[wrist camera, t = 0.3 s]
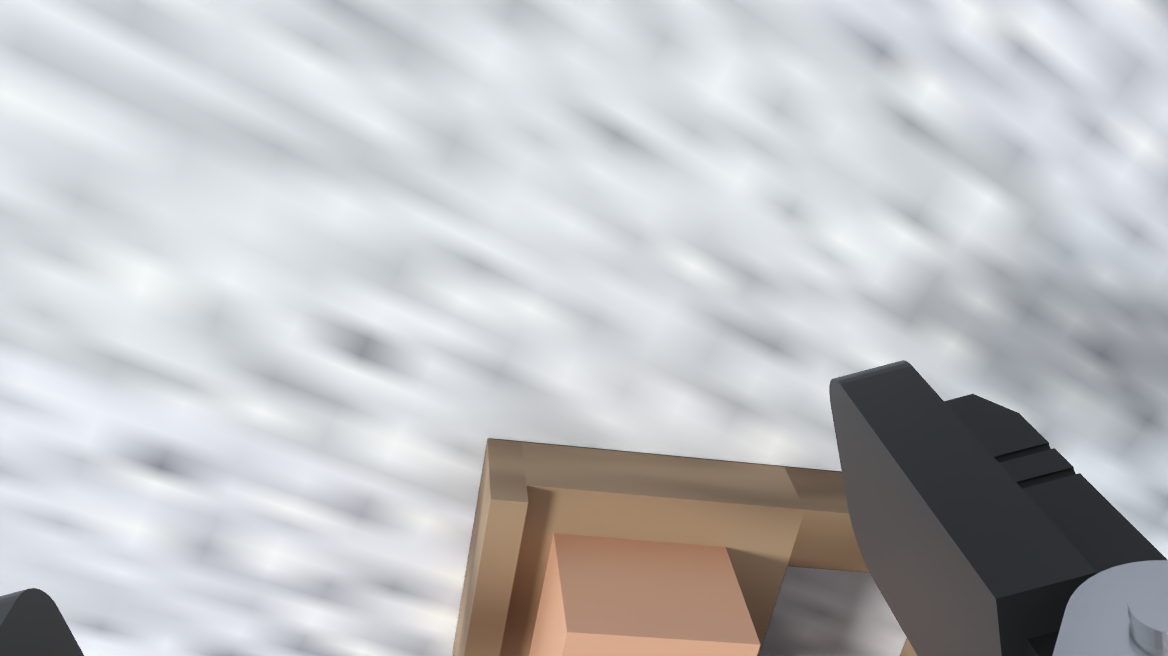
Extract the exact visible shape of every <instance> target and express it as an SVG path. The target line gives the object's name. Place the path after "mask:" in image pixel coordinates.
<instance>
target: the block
mask: <svg viewBox="0 0 1168 656" xmlns="http://www.w3.org/2000/svg"><path fill="white" fill-rule="evenodd" d="M759 648H760V642H759V639H758V636H757V633H756V631H755V628H754V625H753V622H752V620H751V617H750V614H749V611H748V608H747V606H746V603H745V600H744V597H743V594H742V592H741V589H740V586H739V583H738V580H737V578H736V575H735V572H734V569H733V567H732V564H731V561H730V558H729V555H728V553H727V550H726V547H720V546H708V545H695V544H683V543H670V542H658V541H646V540H633V539H621V538H608V537H596V536H583V535H571V534H559V533H554V534H553V539H552V544H551V549H550V554H549V559H548V564H547V569H546V574H545V579H544V584H543V589H542V593H541V598H540V603H539V608H538V613H537V618H536V623H535V628H534V633H533V638H532V643H531V648H530V653H529V656H757V654H758V651H759Z"/></svg>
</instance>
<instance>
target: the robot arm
mask: <svg viewBox="0 0 1168 656" xmlns="http://www.w3.org/2000/svg"><path fill="white" fill-rule="evenodd" d="M830 402H831V409H832V415H833V421H834V427H835V433H836V439H837V445H838V451H839V457H840V463H841V469H842V475H843V481H844V487H845V493H846V499H847V505H848V510H849V515H850V520H851V524H852V527H853V531H854V534H855V538H856V541H857V544H858V547H859V549H860V552H861V555H862V557H863V559H864V562H865V564H866V566H867V568H868V570H869V572H870V574H871V576H872V577H873V579H874V581H875V583H876V584H877V586H878V588H879V590H880V591H881V593H882V595H883V597H884V598H885V600H886V602H887V604H888V605H889V607H890V609H891V611H892V612H893V614H894V616H895V617H896V619H897V621H898V623H899V624H900V626H901V628H902V630H903V631H904V633H905V635H906V637H907V638H908V640H909V642H910V644H911V645H912V647H913V649H914V651H915V652H916V654H917V656H1168V560H1167V559H1166V558H1165V557H1164V556H1163V555H1162V554H1161V553H1160V552H1159V551H1158V550H1157V549H1156V548H1155V547H1154V546H1153V545H1152V544H1151V543H1150V542H1149V541H1148V540H1147V539H1146V538H1145V537H1144V536H1143V535H1142V534H1141V533H1140V532H1139V531H1138V530H1137V529H1136V528H1135V527H1134V526H1133V525H1132V524H1131V523H1130V522H1129V521H1128V520H1126V519H1125V518H1124V517H1123V516H1122V515H1121V514H1120V513H1119V512H1118V511H1117V510H1116V509H1115V508H1114V507H1113V506H1112V505H1111V504H1110V503H1109V502H1108V501H1107V500H1106V499H1105V498H1104V497H1103V496H1102V495H1101V494H1100V493H1099V492H1098V491H1097V490H1096V489H1095V488H1094V487H1093V486H1092V485H1091V484H1090V483H1089V482H1088V481H1087V480H1086V479H1085V478H1084V477H1083V476H1082V475H1081V474H1080V473H1079V474H1075V472H1074V468H1073V466H1072V465H1071V464H1070V463H1069V462H1068V461H1067V460H1066V459H1065V458H1064V457H1063V456H1062V455H1061V454H1060V453H1059V452H1058V451H1057V450H1056V449H1055V448H1054V449H1050V447H1049V442H1047V441H1046V440H1045V439H1044V438H1043V437H1042V436H1041V435H1040V434H1039V433H1038V432H1037V431H1036V430H1035V429H1034V428H1033V427H1032V426H1031V425H1030V424H1029V423H1028V422H1027V421H1026V420H1025V419H1024V418H1023V417H1022V416H1021V415H1020V414H1019V413H1017V412H1015V411H1012V410H1010V409H1008V408H1005V407H1003V406H1000V405H998V404H996V403H993V402H991V401H988V400H986V399H984V398H981V397H979V396H977V395H974V394H971V395H967V396H963V397H959V398H955V399H952V400H948V401H943V400H942V399H941V398H940V397H939V395H938V394H937V393H936V392H935V391H934V390H933V389H932V388H931V387H930V385H929V384H928V383H927V382H926V381H925V380H924V379H923V378H922V376H921V375H920V374H919V373H918V372H917V371H916V370H915V369H914V368H913V366H912V365H911V364H910V363H908V362H907V361H899V362H895V363H891V364H887V365H884V366H880V367H876V368H872V369H868V370H865V371H861V372H857V373H853V374H850V375H846V376H842V377H838V378H834V379H832V380H831V382H830ZM0 656H84V655H83V653H82V651H81V649H80V647H79V646H78V644H77V642H76V640H75V638H74V636H73V635H72V633H71V631H70V629H69V627H68V625H67V624H66V622H65V620H64V618H63V616H62V614H61V613H60V611H59V609H58V607H57V606H56V604H55V603H54V601H53V600H52V599H51V598H50V596H49V595H47V594H46V593H45V592H43V591H41V590H40V589H35V588H32V589H27V590H23V591H19V592H15V593H11V594H8V595H4V596H0Z"/></svg>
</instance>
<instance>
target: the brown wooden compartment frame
mask: <svg viewBox="0 0 1168 656" xmlns="http://www.w3.org/2000/svg"><path fill="white" fill-rule="evenodd" d="M554 533H559V534H571V535H583V536H596V537H608V538H621V539H633V540H646V541H658V542H670V543H683V544H695V545H708V546H720V547H726V550H727V553H728V555H729V558H730V561H731V564H732V567H733V569H734V572H735V575H736V578H737V580H738V583H739V586H740V589H741V592H742V594H743V597H744V600H745V603H746V606H747V608H748V611H749V614H750V617H751V620H752V622H753V625H754V628H755V631H756V633H757V636H758V639H759V642H760V648H759V651H758V654H757V656H759V653H760V650H761V647H762V644H763V641H764V638H765V634H766V631H767V628H768V625H769V622H770V619H771V616H772V612H773V609H774V606H775V603H776V600H777V597H778V593H779V590H780V587H781V584H782V581H783V578H784V575H785V571H786V568H787V566H793V567H805V568H818V569H831V570H844V571H857V572H869V570H868V568H867V566H866V564H865V562H864V559H863V557H862V555H861V552H860V549H859V547H858V544H857V541H856V538H855V534H854V531H853V527H852V524H851V520H850V515H849V510H848V505H847V499H846V493H845V487H844V481H843V475H842V472H834V471H824V470H813V469H803V468H792V467H782V466H771V465H760V464H750V463H739V462H729V461H718V460H708V459H697V458H687V457H676V456H665V455H655V454H644V453H634V452H623V451H613V450H602V449H592V448H581V447H570V446H560V445H549V444H539V443H528V442H518V441H507V440H496V439H487V445H486V451H485V457H484V463H483V469H482V475H481V482H480V488H479V494H478V500H477V506H476V512H475V518H474V525H473V531H472V537H471V543H470V549H469V555H468V561H467V567H466V574H465V580H464V586H463V592H462V598H461V604H460V610H459V616H458V623H457V629H456V635H455V641H454V647H453V656H529V653H530V648H531V643H532V638H533V633H534V628H535V623H536V618H537V613H538V608H539V603H540V598H541V593H542V589H543V584H544V579H545V574H546V569H547V564H548V559H549V554H550V549H551V544H552V539H553V534H554ZM869 573H870V572H869ZM900 656H917V654H916V652H915V651H914V649H913V647H912V645H911V644H910V642H909V640H908V638H907V639H906V642H905V644H904V647H903V650H902V652H901V655H900Z"/></svg>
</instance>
